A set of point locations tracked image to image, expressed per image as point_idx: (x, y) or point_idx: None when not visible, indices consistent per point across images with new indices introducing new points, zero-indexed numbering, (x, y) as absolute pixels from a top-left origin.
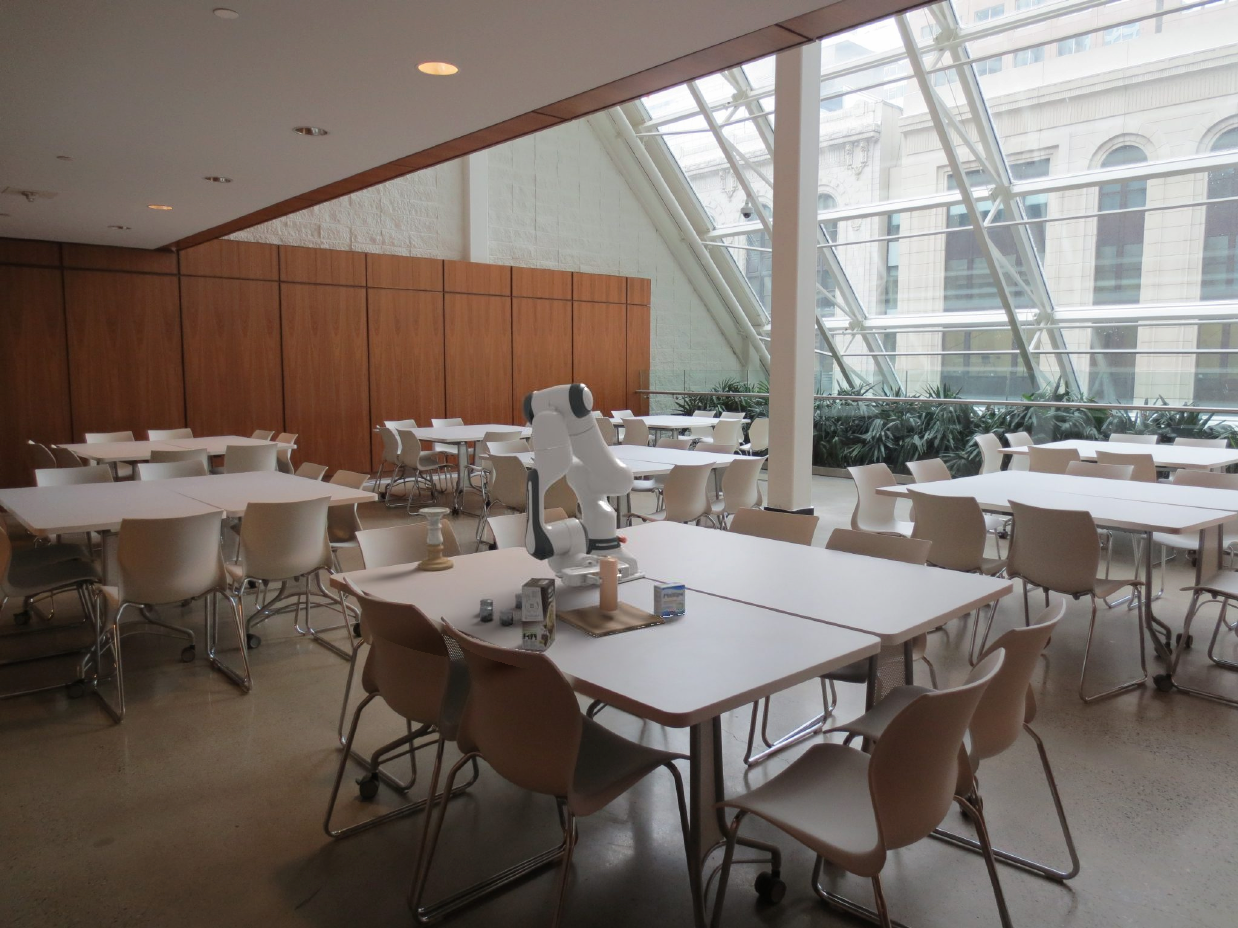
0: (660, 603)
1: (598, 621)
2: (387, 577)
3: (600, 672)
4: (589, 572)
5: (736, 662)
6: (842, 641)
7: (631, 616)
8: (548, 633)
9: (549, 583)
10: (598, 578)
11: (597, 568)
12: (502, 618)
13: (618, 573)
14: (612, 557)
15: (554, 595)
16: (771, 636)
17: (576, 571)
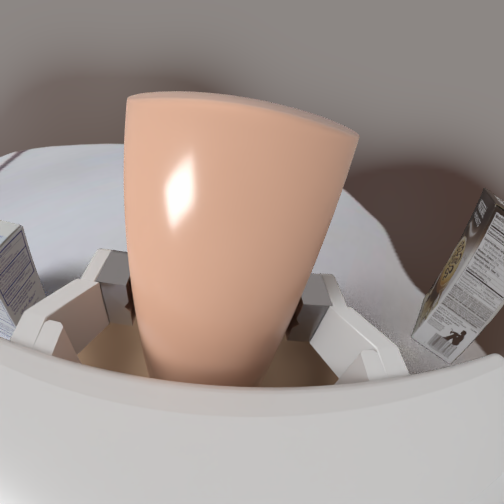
0: (36, 279)
1: (272, 381)
2: None
3: (352, 215)
4: (388, 379)
5: None
6: (51, 152)
7: (126, 353)
8: (436, 282)
9: (489, 193)
10: (326, 274)
11: (209, 494)
12: None
13: (78, 281)
14: (134, 102)
15: (473, 241)
16: (65, 174)
17: (491, 418)
